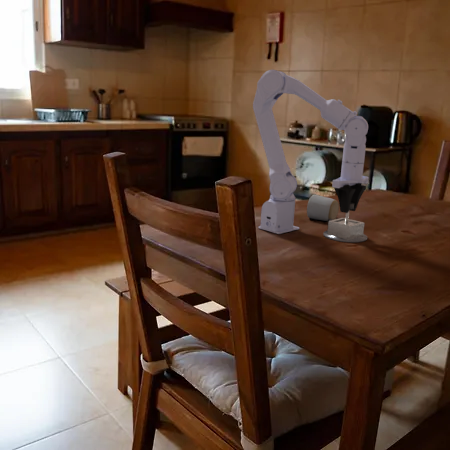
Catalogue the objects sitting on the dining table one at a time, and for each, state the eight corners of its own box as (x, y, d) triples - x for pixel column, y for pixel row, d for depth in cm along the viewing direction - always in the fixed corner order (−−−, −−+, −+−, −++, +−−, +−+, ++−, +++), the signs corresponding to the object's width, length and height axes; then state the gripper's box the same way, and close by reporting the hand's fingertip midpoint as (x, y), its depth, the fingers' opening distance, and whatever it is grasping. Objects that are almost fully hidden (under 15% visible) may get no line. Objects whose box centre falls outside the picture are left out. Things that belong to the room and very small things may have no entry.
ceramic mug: (329, 224, 155) (332, 199, 153) (305, 219, 159) (307, 195, 158) (342, 218, 164) (344, 195, 162) (318, 214, 168) (320, 191, 166)
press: (351, 245, 134) (353, 229, 133) (314, 234, 142) (316, 220, 141) (375, 237, 142) (377, 223, 141) (339, 228, 150) (340, 214, 149)
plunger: (348, 228, 138) (351, 205, 137) (334, 224, 142) (336, 202, 140) (358, 225, 141) (360, 203, 140) (343, 222, 145) (346, 200, 143)
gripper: (350, 165, 129) (345, 217, 133) (380, 162, 139) (374, 210, 143) (327, 162, 134) (323, 212, 138) (357, 159, 144) (352, 206, 147)
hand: (347, 211), depth 140 cm, fingers closed on plunger, 3 cm apart
